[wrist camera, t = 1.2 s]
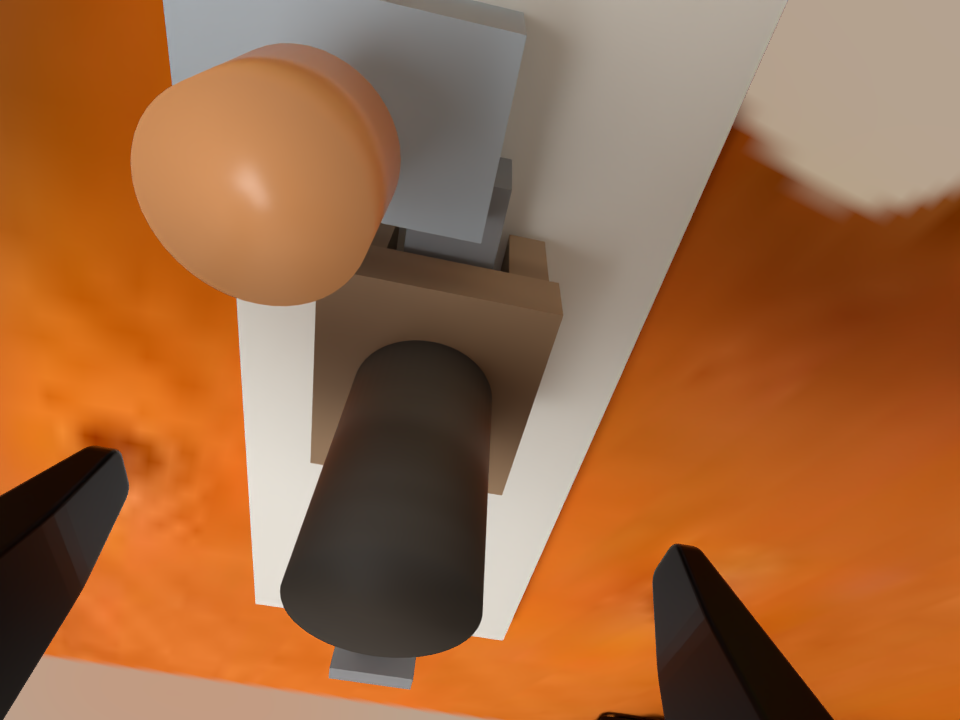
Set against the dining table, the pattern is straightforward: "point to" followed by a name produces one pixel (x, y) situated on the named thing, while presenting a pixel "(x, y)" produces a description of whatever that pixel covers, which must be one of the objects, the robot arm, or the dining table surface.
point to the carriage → (415, 442)
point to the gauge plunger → (268, 173)
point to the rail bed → (599, 248)
